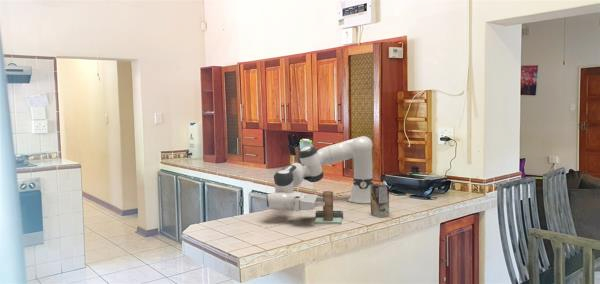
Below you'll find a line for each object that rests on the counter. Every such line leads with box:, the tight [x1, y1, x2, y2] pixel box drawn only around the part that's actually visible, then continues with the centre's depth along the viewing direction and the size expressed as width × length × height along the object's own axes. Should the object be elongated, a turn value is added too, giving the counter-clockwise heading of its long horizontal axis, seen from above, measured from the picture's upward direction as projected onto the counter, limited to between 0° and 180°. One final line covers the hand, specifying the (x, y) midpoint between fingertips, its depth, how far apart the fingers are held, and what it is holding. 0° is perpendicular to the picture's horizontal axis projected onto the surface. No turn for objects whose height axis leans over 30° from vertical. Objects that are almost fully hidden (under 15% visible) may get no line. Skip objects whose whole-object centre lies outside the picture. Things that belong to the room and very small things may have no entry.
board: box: [314, 217, 343, 225], centre depth 230 cm, size 9×13×1 cm
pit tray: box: [315, 210, 344, 220], centre depth 239 cm, size 5×14×3 cm, turn 83°
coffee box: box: [370, 183, 390, 218], centre depth 241 cm, size 9×6×16 cm
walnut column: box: [322, 190, 334, 221], centre depth 229 cm, size 5×5×14 cm
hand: (325, 201), depth 229 cm, fingers open, 8 cm apart
